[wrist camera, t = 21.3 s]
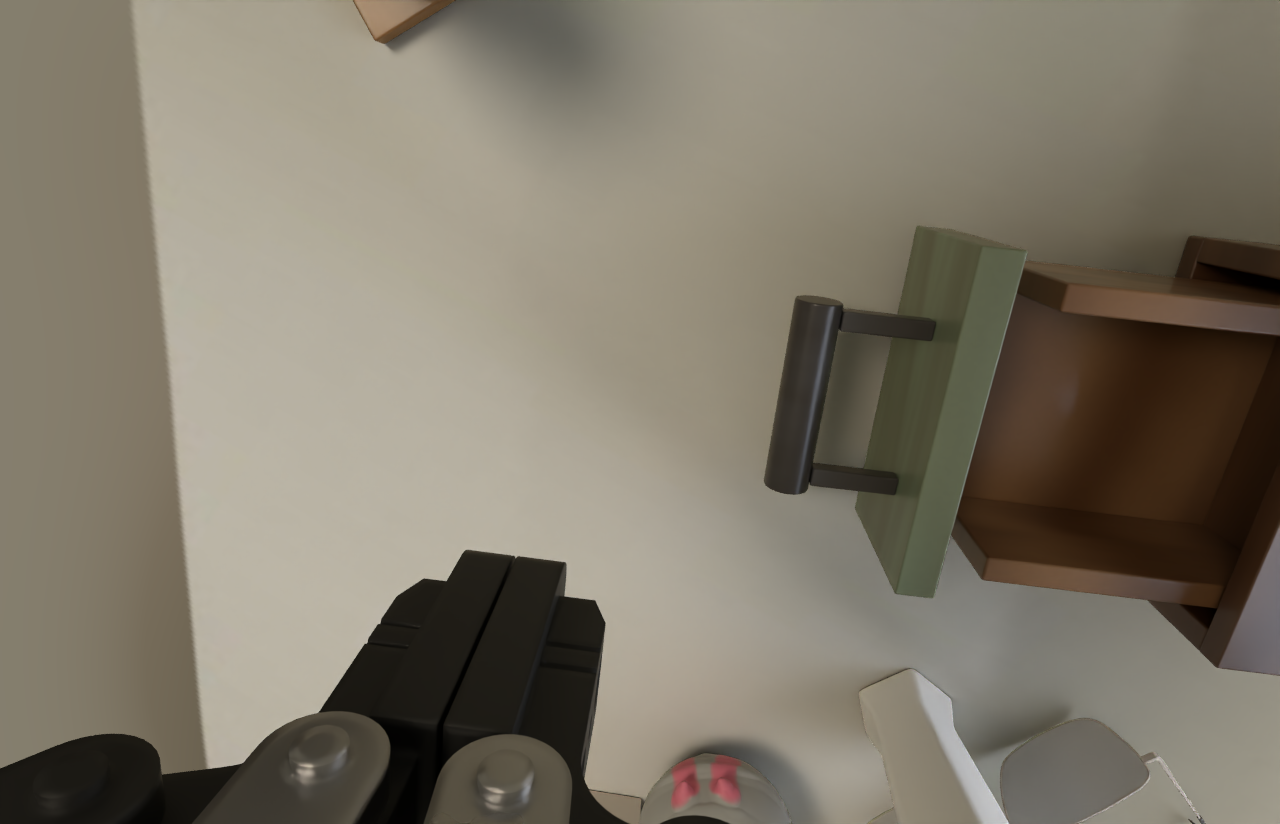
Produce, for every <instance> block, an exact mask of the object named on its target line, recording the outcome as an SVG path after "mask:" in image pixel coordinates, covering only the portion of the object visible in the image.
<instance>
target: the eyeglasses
mask: <svg viewBox="0 0 1280 824" xmlns="http://www.w3.org/2000/svg"><path fill="white" fill-rule="evenodd" d="M1156 760H1157V761H1158V762H1159V764H1160V765H1161V766H1162V768H1163V769H1164V770H1165V772H1166V773H1167V775H1168V776H1169V777H1170V779H1171V780H1172V782H1173V783H1174V784H1175V786H1176V787H1177V789H1178V790H1179V791H1180V793H1181V794H1182V795H1183V797H1184V798H1185V800H1186V801H1187V802H1188V804H1189V805H1190V807H1191V808H1192V809H1193V811H1194V812H1195V814H1196V815H1197V818H1198V819H1199V821H1200V823H1201V824H1205V822H1204V820H1203V818H1202V817H1201V816H1200V815H1199V814H1198V813H1197V811H1196V810H1195V808H1194V807H1193V805H1192V803H1191V802H1190V800H1189V799H1188V797H1187V796H1186V794H1185V793H1184V791H1183V790H1182V788H1181V787H1180V785H1179V784H1178V782H1177V781H1176V779H1175V778H1174V776H1173V774H1172V773H1171V771H1170V770H1169V768H1168V767H1167V765H1166V764H1165V762H1164V761H1163V760H1162V759H1161V757H1160V756H1159V755H1158V754H1157V753H1155V752H1151V753H1148V754H1146V755H1144V756H1141V757H1140V755H1139V754H1138V753H1137V752H1136V751H1135V750H1134V749H1133V748H1132V747H1131V746H1130V745H1129V744H1128V743H1127V742H1126V741H1124V740H1123V739H1122V738H1121V737H1120V736H1119V735H1117V734H1116V733H1115V732H1114V731H1112V730H1111V729H1110V728H1109V727H1107V726H1106V725H1104V724H1103V723H1101V722H1099V721H1097V720H1094V719H1089V718H1079V719H1074V720H1070V721H1067V722H1064V723H1061V724H1059V725H1057V726H1054V727H1052V728H1050V729H1048V730H1046V731H1044V732H1042V733H1040V734H1038V735H1036V736H1034V737H1032V738H1031V739H1029V740H1028V741H1026V742H1025V743H1023V744H1022V745H1020V746H1019V747H1018V748H1016V749H1015V750H1014V751H1012V752H1011V753H1010V754H1009V755H1008V756H1007V757H1006V758H1005V760H1004V761H1003V763H1002V766H1001V772H1000V788H1001V796H1002V801H1003V806H1004V810H1005V813H1006V817H1007V820H1008V822H1009V824H1079V823H1081V822H1083V821H1085V820H1087V819H1089V818H1091V817H1093V816H1095V815H1097V814H1099V813H1101V812H1103V811H1105V810H1107V809H1109V808H1110V807H1112V806H1114V805H1116V804H1118V803H1119V802H1121V801H1123V800H1124V799H1126V798H1128V797H1129V796H1131V795H1133V794H1134V793H1136V792H1137V791H1139V790H1140V789H1141V788H1143V787H1144V786H1145V784H1146V783H1147V782H1148V781H1149V779H1150V770H1149V768H1148V767H1147V764H1149V763H1151V762H1153V761H1156ZM1188 820H1189V819H1188ZM1189 821H1190V822H1191V823H1192V824H1195V823H1193V822H1192V821H1191V820H1189ZM867 824H898V822H897V818H896V813H895V809H894V808H892V809H890V810H888V811H886V812H884V813H883V814H881V815H879V816H877V817H876V818H874V819H872V820H871V821H870V822H868V823H867Z"/></svg>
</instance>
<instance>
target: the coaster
mask: <svg viewBox="0 0 1280 824" xmlns="http://www.w3.org/2000/svg"><path fill="white" fill-rule="evenodd" d="M454 1H455V0H353V2H354V4H355V6H356V7H357V9H358V11H359V13H360V15H361V16H362V18H363V20H364V22H365V24H366V25H367V27H368V29H369V31H370V33H371V35H372V36H373V38H374V40H375V41H377V42H380V43H383V44H385V43H387V42H389V41H390V40H392V39H394V38H395V37H397V36H398V35H400V34H402V33H403V32H405V31H407V30H408V29H410V28H411V27H413V26H415V25H416V24H418V23H420V22H421V21H423V20H424V19H426V18H428V17H429V16H431V15H433V14H434V13H436V12H438V11H439V10H441V9H442V8H444V7H446V6H447V5H449V4H451V3H452V2H454Z"/></svg>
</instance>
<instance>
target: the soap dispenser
mask: <svg viewBox="0 0 1280 824" xmlns="http://www.w3.org/2000/svg"><path fill="white" fill-rule="evenodd" d="M589 791H590V792H591V794H592V795H593V796H594V798H595V799H596V800H597V801H598V802H599V803H600V804H601V805H602V806H603V807H604V808H605V809H606V810H607V811H609V812H610V813H612V814H613V815H614V816H616V817H618V818H620V819H621V820H623V821H625V822H627V823H629V824H639V820H640V809H641V798H635V797H629V796H623V795H617V794H610V793H604V792H598V791H592V790H589Z"/></svg>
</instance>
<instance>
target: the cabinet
mask: <svg viewBox="0 0 1280 824" xmlns="http://www.w3.org/2000/svg"><path fill="white" fill-rule="evenodd" d="M1175 277H1180V278H1189V279H1198V280H1207V281H1216V282H1225V283H1234V284H1243V285H1252V286H1261V287H1270V288H1279V289H1280V245H1275V244H1266V243H1257V242H1247V241H1238V240H1229V239H1220V238H1211V237H1202V236H1190V237H1189V238H1188V241H1187V244H1186V247H1185V250H1184V253H1183V256H1182V259H1181V262H1180V264H1179V267H1178V270H1177V273H1176V276H1175ZM1148 601H1149V602H1150V603H1151V604H1152V605H1153V606H1154V607H1155V608H1156V609H1157V610H1158V611H1159V612H1160V613H1161V614H1162V615H1163V616H1164V617H1165V618H1166V619H1167V620H1168V621H1169V622H1170V623H1171V624H1172V625H1173V626H1174V627H1175V628H1176V629H1177V630H1178V631H1179V632H1181V633H1182V634H1183V635H1184V636H1185V637H1186V638H1187V639H1188V640H1189V641H1190V642H1191V643H1192V644H1193V645H1194V646H1195V647H1196V648H1197V649H1198V650H1200V652H1201V653H1202V654H1203V655H1204V656H1205V657H1206V658H1207V659H1208V660H1209V661H1210V662H1211V663H1212V664H1213V665H1214V666H1215V667H1217V668H1222V669H1230V670H1238V671H1247V672H1255V673H1263V674H1271V675H1279V676H1280V460H1279V463H1278V465H1277V467H1276V470H1275V472H1274V475H1273V477H1272V479H1271V482H1270V484H1269V487H1268V489H1267V491H1266V494H1265V496H1264V498H1263V501H1262V503H1261V506H1260V508H1259V510H1258V513H1257V515H1256V518H1255V520H1254V522H1253V525H1252V527H1251V529H1250V532H1249V534H1248V537H1247V539H1246V541H1245V544H1244V546H1243V549H1242V551H1241V553H1240V556H1239V558H1238V560H1237V563H1236V565H1235V568H1234V570H1233V572H1232V575H1231V577H1230V580H1229V582H1228V584H1227V587H1226V589H1225V591H1224V594H1223V596H1222V599H1221V601H1220V603H1219V606H1218V608H1209V607H1201V606H1192V605H1184V604H1176V603H1168V602H1159V601H1151V600H1148Z"/></svg>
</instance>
